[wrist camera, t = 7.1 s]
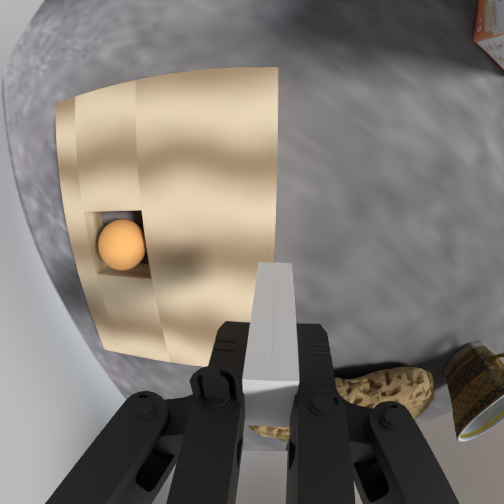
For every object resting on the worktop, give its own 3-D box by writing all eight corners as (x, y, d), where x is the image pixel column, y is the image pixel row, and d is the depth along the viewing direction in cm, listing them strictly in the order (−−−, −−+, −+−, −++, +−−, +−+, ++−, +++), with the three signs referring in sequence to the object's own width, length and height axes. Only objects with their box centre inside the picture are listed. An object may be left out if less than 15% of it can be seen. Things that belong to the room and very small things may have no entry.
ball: (99, 231, 17) (151, 219, 19) (90, 221, 19) (133, 211, 22) (110, 284, 18) (157, 269, 21) (98, 266, 21) (139, 254, 23)
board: (74, 103, 17) (55, 103, 15) (277, 75, 16) (278, 67, 14) (114, 334, 27) (104, 349, 25) (268, 353, 26) (267, 371, 24)
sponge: (253, 400, 32) (387, 434, 28) (236, 443, 24) (394, 475, 21) (288, 316, 28) (440, 361, 25) (276, 354, 21) (462, 400, 18)
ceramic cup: (469, 381, 27) (492, 430, 18) (420, 389, 28) (441, 449, 19) (512, 309, 22) (551, 358, 13) (466, 310, 22) (511, 372, 13)
